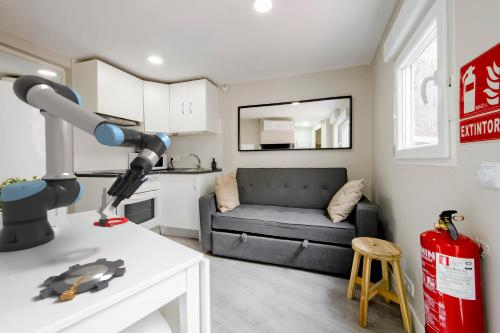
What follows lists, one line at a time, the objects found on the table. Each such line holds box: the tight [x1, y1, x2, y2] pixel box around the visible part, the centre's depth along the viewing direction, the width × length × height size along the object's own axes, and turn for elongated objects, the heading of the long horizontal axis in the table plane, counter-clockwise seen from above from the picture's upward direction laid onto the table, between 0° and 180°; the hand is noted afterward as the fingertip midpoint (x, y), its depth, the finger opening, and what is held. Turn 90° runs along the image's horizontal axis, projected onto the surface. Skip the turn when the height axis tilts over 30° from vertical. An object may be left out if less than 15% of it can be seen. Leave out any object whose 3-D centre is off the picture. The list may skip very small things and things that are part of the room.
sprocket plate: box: [39, 257, 127, 302], centre depth 55 cm, size 18×18×1 cm
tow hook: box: [93, 187, 129, 228], centre depth 72 cm, size 8×13×9 cm
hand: (102, 214), depth 68 cm, fingers closed on tow hook, 2 cm apart
